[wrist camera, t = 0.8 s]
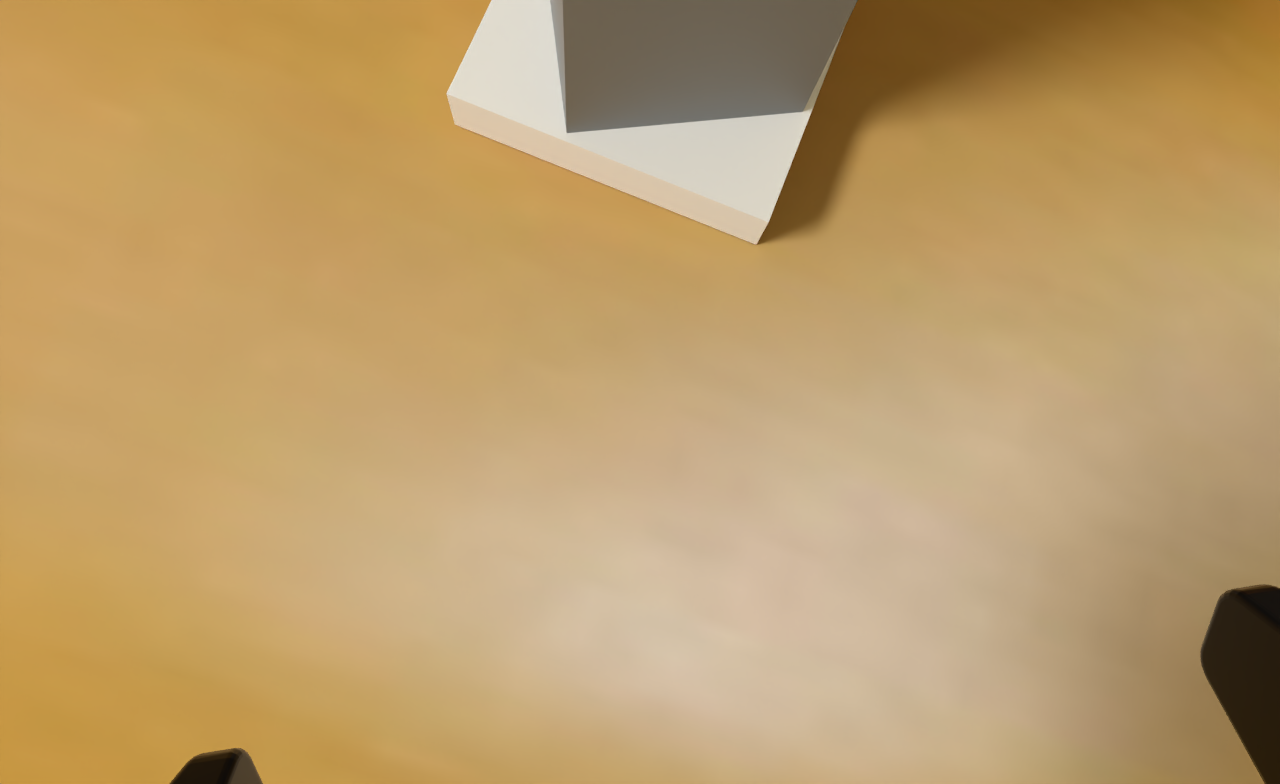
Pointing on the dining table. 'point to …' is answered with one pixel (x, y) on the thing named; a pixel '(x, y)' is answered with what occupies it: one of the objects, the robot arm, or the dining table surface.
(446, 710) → the dining table surface
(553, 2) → the tall grey box
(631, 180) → the base
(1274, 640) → the robot arm
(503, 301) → the dining table surface
